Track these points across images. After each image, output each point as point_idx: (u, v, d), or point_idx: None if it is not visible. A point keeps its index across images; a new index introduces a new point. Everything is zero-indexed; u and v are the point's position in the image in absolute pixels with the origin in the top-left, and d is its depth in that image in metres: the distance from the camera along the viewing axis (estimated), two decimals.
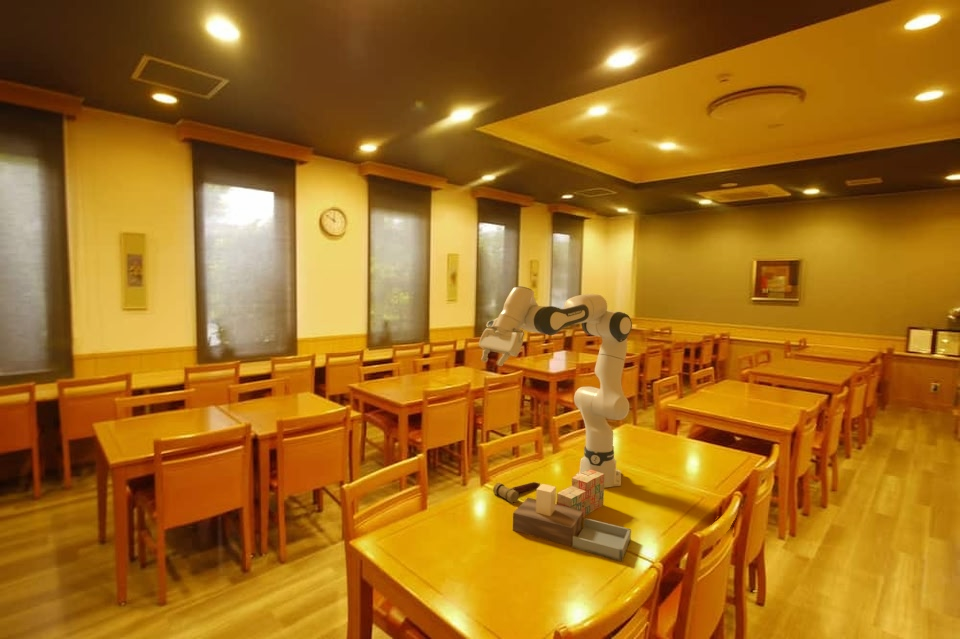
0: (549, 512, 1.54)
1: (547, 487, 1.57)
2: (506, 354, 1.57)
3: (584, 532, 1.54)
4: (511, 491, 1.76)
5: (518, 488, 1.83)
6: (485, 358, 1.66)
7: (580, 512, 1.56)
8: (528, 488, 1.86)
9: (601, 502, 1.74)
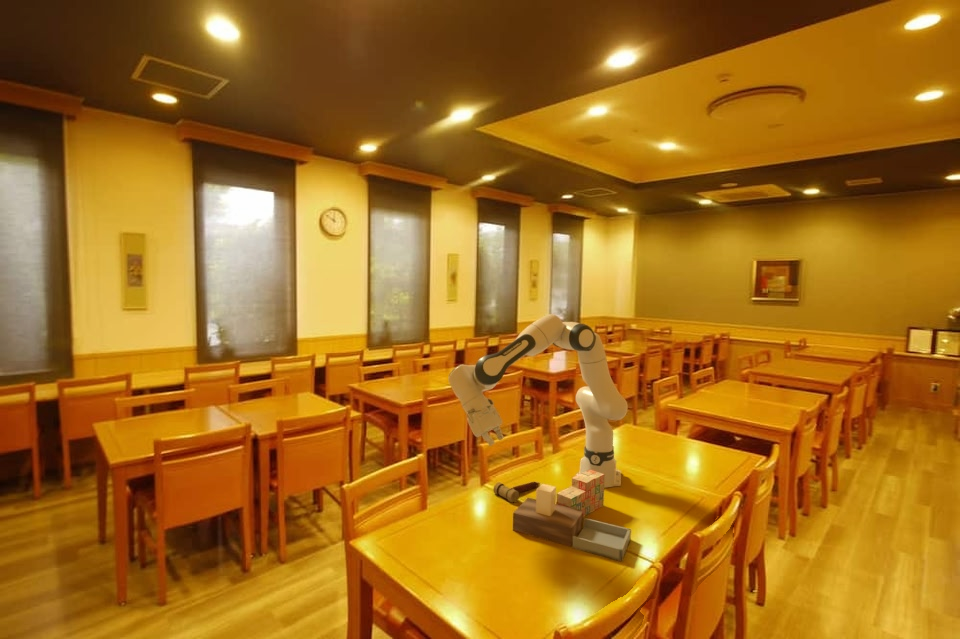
0: (549, 512, 1.54)
1: (547, 487, 1.57)
2: (483, 435, 1.58)
3: (584, 532, 1.54)
4: (511, 491, 1.76)
5: (518, 488, 1.83)
6: (499, 437, 1.67)
7: (580, 512, 1.56)
8: (528, 488, 1.86)
9: (601, 502, 1.74)
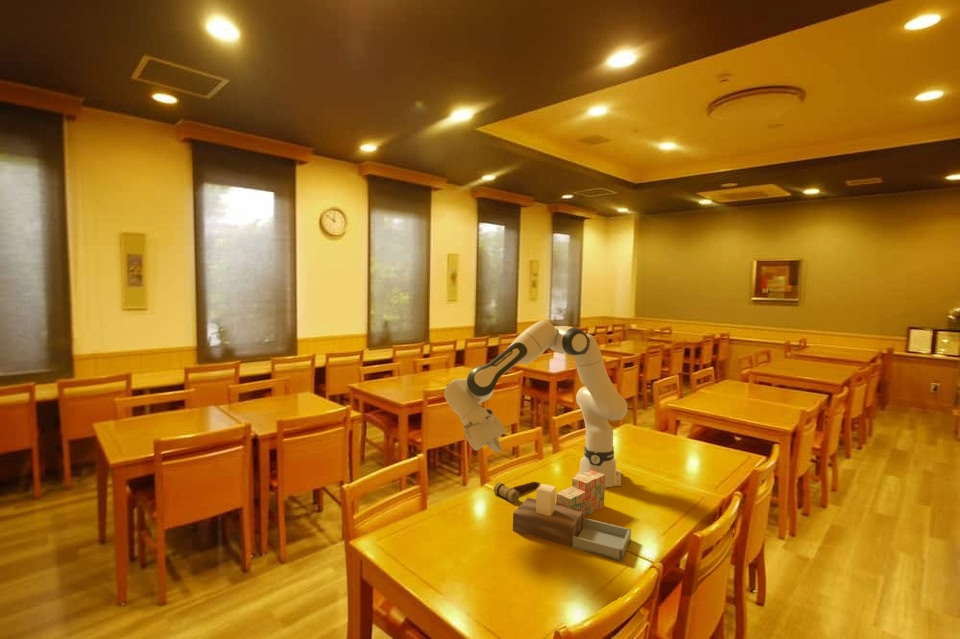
0: (549, 512, 1.54)
1: (547, 487, 1.57)
2: (488, 444, 1.63)
3: (584, 532, 1.54)
4: (512, 491, 1.77)
5: (518, 488, 1.83)
6: None
7: (580, 512, 1.56)
8: (528, 487, 1.86)
9: (602, 503, 1.73)
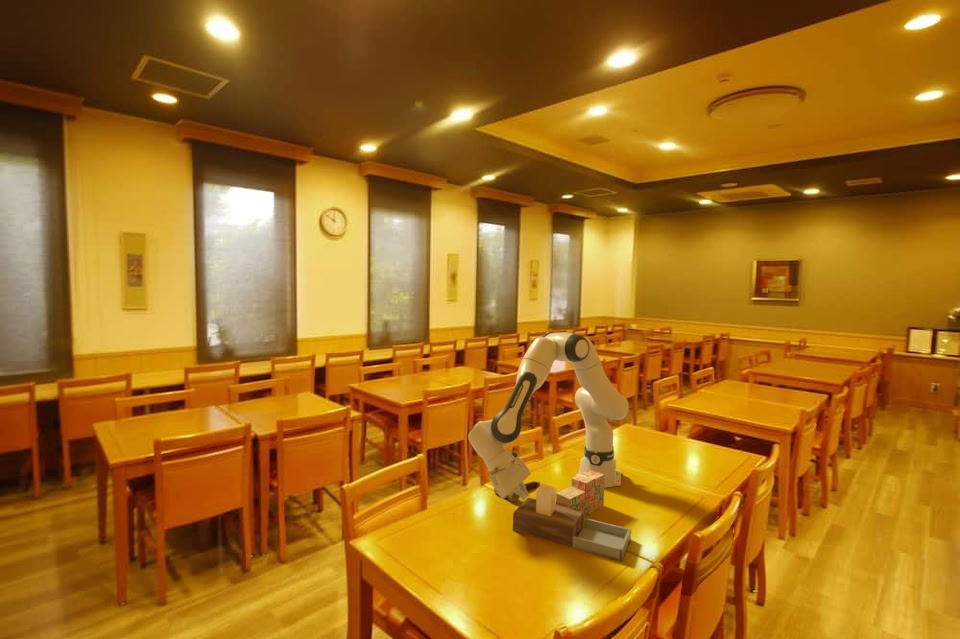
0: (549, 512, 1.54)
1: (547, 487, 1.57)
2: (515, 490, 1.59)
3: (584, 532, 1.54)
4: None
5: None
6: None
7: (580, 512, 1.56)
8: (529, 487, 1.86)
9: (601, 503, 1.73)
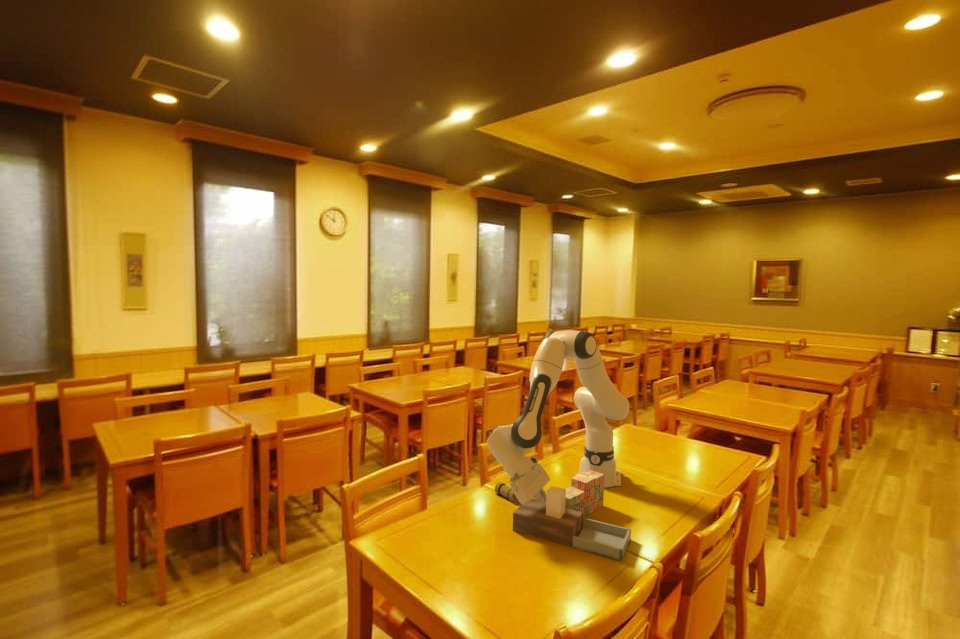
0: (559, 515, 1.52)
1: (557, 489, 1.55)
2: (535, 497, 1.56)
3: (584, 532, 1.54)
4: None
5: None
6: None
7: (580, 512, 1.56)
8: None
9: (601, 503, 1.73)
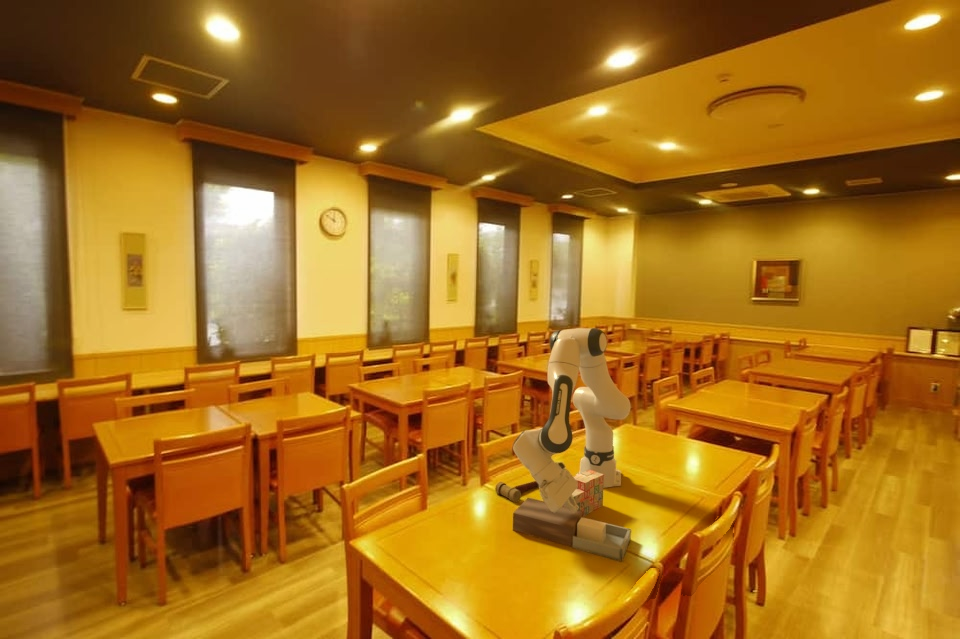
0: None
1: (604, 533, 1.49)
2: (564, 503, 1.51)
3: None
4: (513, 490, 1.77)
5: (520, 487, 1.84)
6: None
7: (580, 512, 1.56)
8: (530, 487, 1.87)
9: (600, 503, 1.73)
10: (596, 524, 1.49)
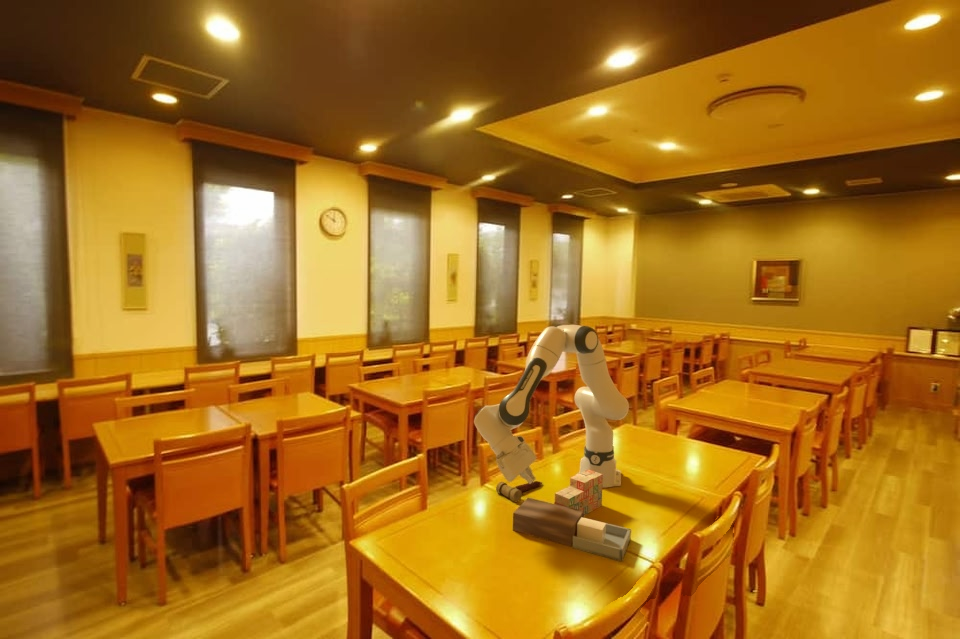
0: None
1: (604, 533, 1.49)
2: (521, 474, 1.57)
3: None
4: (514, 490, 1.77)
5: (521, 487, 1.84)
6: None
7: (580, 512, 1.56)
8: (531, 487, 1.87)
9: (599, 502, 1.74)
10: (596, 524, 1.49)
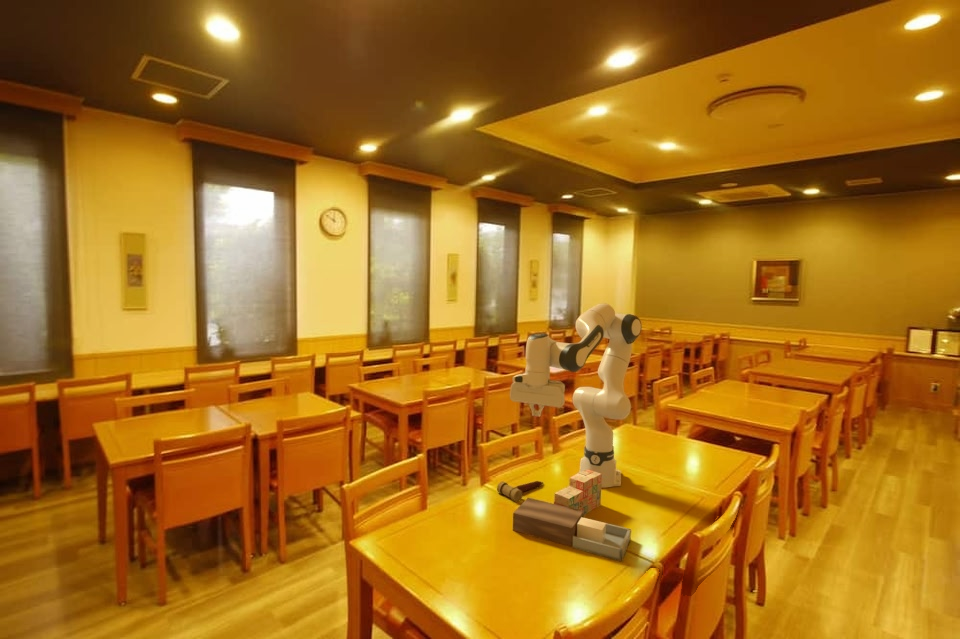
0: None
1: (604, 533, 1.49)
2: (542, 405, 1.69)
3: None
4: (515, 490, 1.77)
5: (522, 487, 1.84)
6: None
7: (580, 512, 1.56)
8: (531, 487, 1.87)
9: (598, 502, 1.74)
10: (596, 524, 1.49)
